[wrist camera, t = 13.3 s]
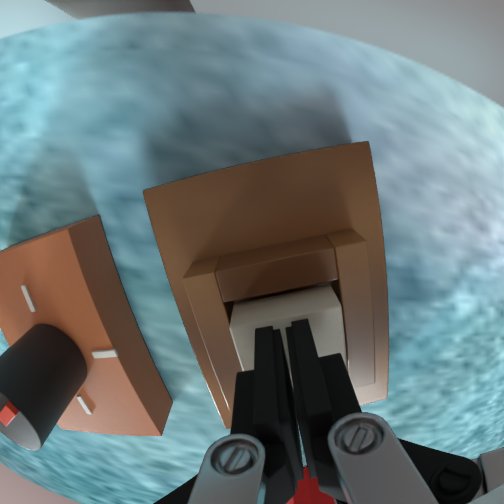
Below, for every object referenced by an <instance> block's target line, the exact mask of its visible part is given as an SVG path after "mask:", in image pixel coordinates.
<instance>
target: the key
mask: <svg viewBox="0 0 504 504" xmlns="http://www.w3.org/2000/svg"><path fill="white" fill-rule="evenodd" d="M306 318H308V320H309V324H310V327H311V331H312V335H313V338H314V342H315V346H316V350H317V353H318V357H322V356H327V355H331V354H336V353H341V355H342V358H343V360H344V363H345V366H346V369H347V357H346V346H345V335H344V325H343V316H342V307H341V304H340V302H339V300H338V298H337V296H336V294H335V292H334V290H333V288H332V286H331V285H325V286H320V287H316V288H311V289H306V290H301V291H297V292H292V293H287V294H282V295H277V296H272V297H267V298H262V299H257V300H251V301H246V302H241V303H236V304H234V305H233V311H232V316H231V322H230V327H229V329H230V332H231V335H232V339H233V342H234V345H235V348H236V352H237V355H238V358H239V361H240V364H241V368H242V371H248V370H254V346H255V329H256V328H261V327H266V326H273V329H274V330H275V329H280V331H281V336H282V340H283V345H284V349H285V354H286V359H287V363H288V368H289V372H290V377H291V382H292V376H291V368H290V360H289V353H288V345H287V338H286V331H285V327H290V326H292V325H291V322H292V321H297V320H302V319H306ZM347 371H348V370H347ZM292 386H293V383H292Z"/></svg>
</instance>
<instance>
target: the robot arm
mask: <svg viewBox="0 0 504 504" xmlns="http://www.w3.org/2000/svg"><path fill="white" fill-rule="evenodd" d="M291 325H292V326H290V327H285V331H286V338H287V345H288V353H289V360H290V368H291V376H292V382H291V377H290V372H289V368H288V363H287V359H286V354H285V349H284V345H283V340H282V336H281V331H280V329H275V330H274V329H273V326H266V327H261V328H256V329H255V346H254V370H248V371H241V372H237V374H236V382H235V392H234V402H233V412H232V422H231V433H230V435H228V436H225V437H222V438H220V439H219V440H217V441H215V442H214V443H213V444H212V445H211V446H210V447H209V448H208V450H207V452H206V454H205V456H204V459H203V462H202V464H201V467H200V470H199V473H198V474H197V475H196V476H194V477H193V478H192V479H190V480H189V481H187V482H186V483H184V484H183V485H181V486H180V487H178V488H177V489H175V490H174V491H172V492H171V493H169V494H168V495H166V496H165V497H163V498H162V499H160V500H158V501H157V502H155V503H154V504H286V503H287V502H288V501H289V500H290V499H291V498H292V497H293V496H294V495H295V494H296V493H295V490H298V484H297V481H298V480H304V472H303V463H302V454H301V446H300V437H299V430H300V434H301V439H302V443H303V448H304V453H305V457H306V462H307V466H308V471H309V476H310V478H316V477H317V479H318V485H319V490H320V491H322V492H324V493H326V494H328V495H330V496H332V497H333V498H334V502H335V504H504V447H502V448H499V449H496V450H492V451H489V452H486V453H482V454H480V456H479V457H478V458H475V459H472V460H470V459H468V458H465V457H462V456H458V455H454V454H450V453H446V452H442V451H439V450H435V449H432V448H428V447H425V446H421V445H418V444H415V443H412V442H408V441H405V440H402V439H399V438H397V437H396V435H395V434H394V432H393V431H392V429H391V428H390V426H389V425H388V423H387V422H386V421H385V420H384V419H383V418H382V417H380V416H378V415H376V414H372V413H368V412H362V411H361V408H360V405H359V402H358V399H357V397H356V394H355V391H354V388H353V385H352V382H351V380H350V377H349V374H348V371H347V369H346V366H345V363H344V360H343V358H342V355H341V353H336V354H331V355H327V356H322V357H318V353H317V350H316V346H315V342H314V338H313V335H312V331H311V327H310V324H309V320H308V318H306V319H302V320H297V321H292V322H291ZM292 383H293V386H292ZM297 420H298V421H297ZM298 425H299V429H298Z"/></svg>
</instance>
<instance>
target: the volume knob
mask: <svg viewBox="0 0 504 504" xmlns="http://www.w3.org/2000/svg"><path fill="white" fill-rule="evenodd" d="M86 378H87V365H86V362H85V359H84V357H83V355H82V353H81V351H80V350H79V348H78V347H77V346H76V344H75V343H74V342H73V341H72V340H71V339H70V338H69V337H68V336H67V335H66V334H65V333H64V332H62V331H61V330H59V329H57V328H56V327H54V326H51V325H48V324H37V325H34V326H33V327H32V328H31V329H29V330H28V331H27V332H26V333H25V334H24V335H23V336H22V337H20V338H19V339H18V340H17V341H16V342H15V343H14V344H13V345H12V346H11V347H9V348H8V349H7V350H6V351H5V352H4V353H3V354H2V355H1V356H0V432H1V433H3V434H4V435H5V436H6V437H7V438H9V439H10V440H12V441H13V442H15V443H16V444H18V445H20V446H22V447H24V448H26V449H29V450H39V449H40V448H41V447H42V445H43V444H44V442H45V441H46V439H47V437H48V436H49V434H50V433H51V431H52V430H53V428H54V426H55V425H56V423H57V422H58V420H59V419H60V417H61V416H62V414H63V413H64V411H65V410H66V408H67V407H68V405H69V404H70V402H71V401H72V399H73V398H74V396H75V395H76V393H77V392H78V391H79V389H80V388H81V386H82V385H83V383H84V382H85V380H86Z"/></svg>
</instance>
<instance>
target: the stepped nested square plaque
mask: <svg viewBox="0 0 504 504" xmlns="http://www.w3.org/2000/svg"><path fill="white" fill-rule="evenodd" d="M143 195H144V199H145V203H146V207H147V210H148V214H149V217H150V221H151V225H152V228H153V232H154V235H155V238H156V242H157V245H158V248H159V252H160V255H161V258H162V261H163V265H164V268H165V271H166V274H167V277H168V280H169V283H170V286H171V289H172V292H173V295H174V298H175V301H176V304H177V307H178V310H179V313H180V315H181V318H182V321H183V324H184V327H185V329H186V332H187V335H188V337H189V340H190V343H191V345H192V348H193V351H194V353H195V356H196V359H197V361H198V364H199V366H200V369H201V371H202V374H203V376H204V379H205V381H206V384H207V386H208V388H209V391H210V393H211V396H212V398H213V400H214V403H215V405H216V407H217V410H218V412H219V414H220V417H221V419H222V421H223V423H224V426H225V428H226V429H230V428H231V422H232V412H233V402H234V392H235V382H236V374H237V372H241V371H242V368H241V364H240V361H239V358H238V355H237V352H236V348H235V345H234V342H233V339H232V335H231V332H230V329H229V327H230V322H231V316H232V311H233V305H234V304H236V303H241V302H246V301H251V300H257V299H262V298H267V297H272V296H277V295H282V294H287V293H292V292H297V291H301V290H306V289H311V288H316V287H320V286H325V285H331V286H332V288H333V290H334V292H335V294H336V296H337V298H338V300H339V302H340V304H341V307H342V316H343V325H344V335H345V346H346V357H347V370H348V374H349V377H350V380H351V382H352V385H353V388H354V391H355V394H356V397H357V399H358V402H359V405H360V406H362V405H366V404H369V403H373V402H377V401H380V400H384V399H387V396H388V373H389V314H388V290H387V274H386V261H385V249H384V239H383V230H382V221H381V213H380V205H379V198H378V191H377V185H376V179H375V172H374V167H373V161H372V156H371V150H370V145H369V142H368V141H364V142H356V143H349V144H343V145H337V146H331V147H325V148H319V149H313V150H308V151H302V152H297V153H292V154H287V155H282V156H277V157H272V158H267V159H263V160H258V161H253V162H249V163H244V164H240V165H236V166H231V167H227V168H223V169H219V170H215V171H211V172H207V173H203V174H199V175H195V176H192V177H188V178H184V179H180V180H177V181H173V182H170V183H166V184H163V185H159V186H156V187H152V188H149V189H146V190H143Z"/></svg>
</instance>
